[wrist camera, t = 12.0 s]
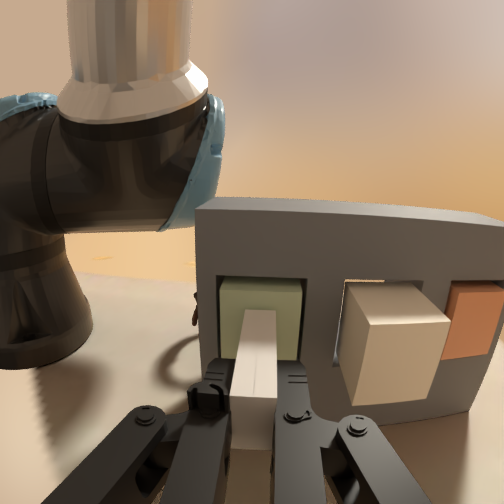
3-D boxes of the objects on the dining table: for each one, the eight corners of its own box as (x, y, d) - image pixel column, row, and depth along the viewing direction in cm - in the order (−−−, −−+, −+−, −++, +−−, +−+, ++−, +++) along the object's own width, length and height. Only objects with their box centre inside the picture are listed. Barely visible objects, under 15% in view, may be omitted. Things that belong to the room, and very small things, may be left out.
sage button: (221, 363, 17) (219, 289, 16) (231, 322, 22) (231, 260, 21) (295, 367, 17) (302, 292, 16) (290, 324, 22) (295, 262, 20)
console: (206, 425, 19) (194, 209, 15) (218, 374, 25) (215, 196, 21) (469, 410, 18) (524, 229, 14) (440, 369, 24) (476, 213, 20)
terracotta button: (440, 360, 16) (459, 293, 15) (412, 323, 21) (423, 265, 20) (487, 353, 16) (506, 291, 15) (455, 321, 21) (467, 266, 20)
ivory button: (352, 405, 13) (370, 324, 12) (335, 350, 18) (345, 281, 17) (425, 398, 13) (451, 321, 12) (396, 349, 18) (410, 282, 17)
